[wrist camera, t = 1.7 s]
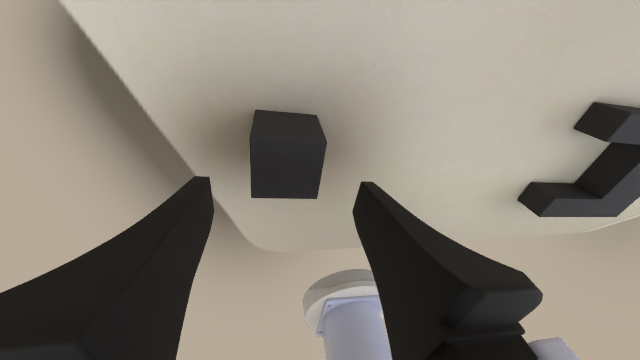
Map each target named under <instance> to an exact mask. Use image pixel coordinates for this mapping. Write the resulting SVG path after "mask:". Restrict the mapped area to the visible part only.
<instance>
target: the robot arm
mask: <svg viewBox="0 0 640 360" xmlns="http://www.w3.org/2000/svg"><path fill="white" fill-rule="evenodd" d="M352 212H353V216H354V221H355V225H356V229H357V232H358V235H359V237H360V240H361V243H362V245H363V248H364V250H365V253H366V256H367V258H368V261H369V263H370V266H371V269H372V272H373V275H374V279H375V283H376V286H377V290H378V294H379V295H370V296H356V297H342V298H329V299H327V300H326V301H325V303H324V307H323V310H322V314H321V317H320V321H319V324H318V328H317V331H316V336H317V337H323V338H324V346H325V353H326V360H579V358H578V357H577V356H576V355H575V354H574V353H573V351H572V350H571V349H570V348H569V347H568V346H567V345H566V343H565V342H564V341H563V340H562V339H561V338H558V337H557V338H549V339H542V340H536V341H532V342H530V343H527V342H526V341H525V340H524V338H522V336H521V335H523V334H524V333H525V330H524V329H523V327H522V326H521V325H520V324H519V321H520V320H521V319H523V318H524V317H525V316H526V315H528V314H529V313H530V312H532V311H533V310H534V309H535V308H536V307H537V306H538V305H539V304H540V303H541V301H542V297H543V294H542V292H541V291H540V290H539V289H538V288H537V287H536V286H535V284H534V283H533V282H532V281H531V280H530V279H529V278H528V277H527V276H526V275H525V274H524V273H523V272H521V271H518V270H516V269H514V268H511V267H508V266H506V265H503V264H501V263H499V262H496V261H494V260H491V259H489V258H487V257H485V256H483V255H480V254H479V253H476V252H474V251H472V250H470V249H468V248H466V247H464V246H462V245H460V244H459V243H457V242H455V241H453V240H451V239H450V238H448V237H446V236H444V235H443V234H441V233H439V232H438V231H436V230H435V229H433V228H432V227H430V226H428V225H427V224H425V223H424V222H423V221H421V220H420V219H418V218H417V217H416V216H414V215H413V214H412V213H410V212H409V211H408V210H406V209H405V208H404V207H403V206H401V205H400V204H399V203H398V202H397V201H395V200H394V199H393V198H392V197H391V196H389V195H388V194H387V193H386V192H385V191H383V190H382V189H381V188H380V187H379V186H377V185H376V184H375V183H373V182H361V184H360V188H359V191H358V194H357V198H356V201H355V205H354V208H353V211H352ZM213 215H214V207H213V199H212V192H211V185H210V178H209V177H199V176H194V178H192V179H191V180H190V181H188V182H187V183H186V184H185V185H184V186H183V187H182V188H180V189H179V190H178V191H177V192H176V193H175V194H173V195H172V196H171V197H170V198H169V199H167V200H166V201H165V202H164V203H163V204H161V205H160V206H159V207H157V208H156V209H155V210H153V211H152V212H151V213H149V214H148V215H147V216H146V217H144V218H143V219H141V220H140V221H139V222H137V223H136V224H134V225H133V226H131V227H130V228H128V229H127V230H125V231H123V232H122V233H120V234H119V235H117V236H115V237H114V238H112V239H111V240H109V241H107V242H105V243H103V244H102V245H100V246H98V247H96V248H94V249H93V250H91V251H89V252H87V253H86V254H83V255H82V256H80V257H78V258H76V259H74V260H72V261H70V262H68V263H66V264H64V265H62V266H60V267H58V268H56V269H54V270H51V271H49V272H47V273H45V274H43V275H41V276H39V277H37V278H34V279H32V280H30V281H28V282H25V283H23V284H21V285H18V286H16V287H14V288H12V289H9V290H7V291H4V292H2V293H0V360H176V355H177V350H178V345H179V340H180V335H181V330H182V326H183V321H184V317H185V312H186V308H187V303H188V299H189V295H190V290H191V286H192V283H193V279H194V276H195V273H196V270H197V267H198V264H199V262H200V259H201V256H202V253H203V250H204V247H205V244H206V242H207V239H208V236H209V233H210V229H211V224H212V220H213ZM381 309H382V311H383V315H384V319H385V324H386V329H387V333H388V337H387V334H386V331H385V328H384V325H383V322H382V319H381V316H380V311H381ZM388 339H389V340H388Z"/></svg>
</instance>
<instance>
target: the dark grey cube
mask: <svg viewBox="0 0 640 360" xmlns="http://www.w3.org/2000/svg"><path fill="white" fill-rule="evenodd" d="M326 145H327V141H326V138H325V136H324V133H323V130H322V128H321V125H320V123H319V120H318V117H317V115H308V114H296V113H285V112H274V111H262V110H255V114H254V119H253V124H252V129H251V134H250V164H251V197H252V198H293V199H317V196H318V190H319V185H320V179H321V173H322V167H323V162H324V156H325V150H326Z"/></svg>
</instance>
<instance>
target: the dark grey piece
mask: <svg viewBox="0 0 640 360" xmlns="http://www.w3.org/2000/svg"><path fill="white" fill-rule="evenodd" d="M574 129H575V130H578V131H580V132H583V133H585V134H588V135H590V136H593V137H595V138H598V139H600V140H603V141H605V142H613V143H612V144H611V145H610V146H609V147H608V148H607V149H606V150H605V151H604V152H603V154H602V155H601V156H600V157H599V158H598V159H597V160H596V161H595V162H594V163H593V164H592V166H591V167H590V168H589V169H588V170H587V171H586V172H585V173H584V174H583V175H582V177H581V178H580V179H579V180H578V181H577V182H576V183H575V184H558V183H531V184H530V185H529V186H528V188H527V189H526V190H525V191H524V193H523V194H522V195H521V196H520V198H519V199H518V201H520V202H521V203H522V204H523V205H525V206H526V207H527V208H528V209H530V210H531V211H532V212H533V213H535V214H536V215H537V216H539V217H617V216H618V215H619V214H620V213H621V212H622V211H624V210H625V209H626V208H627V207H628V206H629V205H630V204H632V203H633V202H634V201H635V200H636V199H638V198H639V197H640V108H635V107H627V106H619V105H612V104H604V103H597V102H595V103H594V104H593V105H592V106H591V107H590V109H589V110H588V111H587V112H586V114H585V115H584V116H583V118H582V119H581V120H580V121H579V123H578V124H577V125H576V126H575V128H574Z"/></svg>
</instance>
